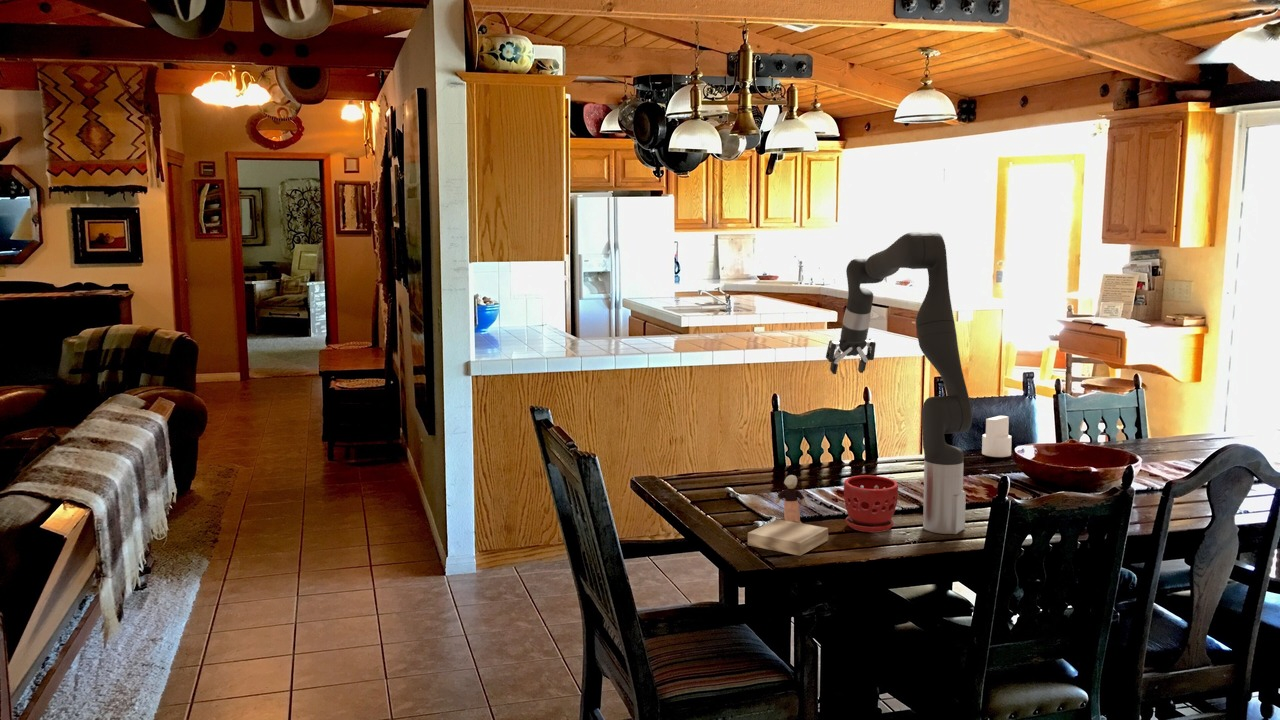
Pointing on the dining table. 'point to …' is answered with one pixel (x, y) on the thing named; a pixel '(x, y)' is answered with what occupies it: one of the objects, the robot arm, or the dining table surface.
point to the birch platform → (788, 537)
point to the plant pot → (870, 502)
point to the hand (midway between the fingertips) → (847, 372)
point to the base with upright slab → (997, 437)
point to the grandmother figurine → (791, 499)
